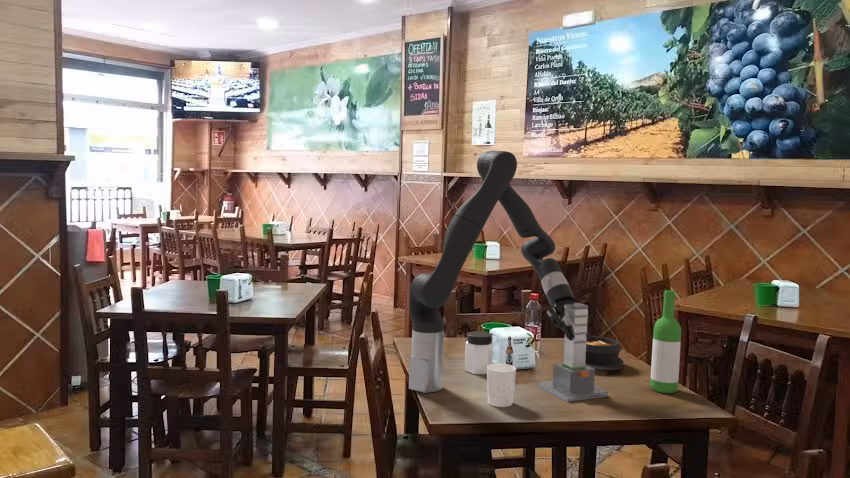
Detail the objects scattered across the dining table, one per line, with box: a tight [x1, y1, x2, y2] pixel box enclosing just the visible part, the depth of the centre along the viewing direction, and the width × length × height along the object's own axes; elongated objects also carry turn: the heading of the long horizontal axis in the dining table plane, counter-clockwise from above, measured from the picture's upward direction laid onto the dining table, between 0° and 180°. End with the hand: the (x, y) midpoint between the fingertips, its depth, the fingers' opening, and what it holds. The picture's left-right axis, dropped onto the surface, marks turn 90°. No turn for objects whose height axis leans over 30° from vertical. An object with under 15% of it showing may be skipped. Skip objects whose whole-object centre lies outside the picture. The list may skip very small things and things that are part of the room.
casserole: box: [585, 335, 624, 371], centre depth 214 cm, size 25×19×8 cm
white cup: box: [486, 363, 517, 408], centre depth 173 cm, size 8×8×10 cm
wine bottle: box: [649, 289, 682, 394], centre depth 188 cm, size 8×8×30 cm
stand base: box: [538, 362, 609, 403], centre depth 185 cm, size 14×14×8 cm
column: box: [561, 302, 589, 370], centre depth 184 cm, size 5×5×19 cm
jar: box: [464, 330, 494, 375], centre depth 203 cm, size 9×8×12 cm
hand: (579, 338), depth 182 cm, fingers closed on column, 4 cm apart
